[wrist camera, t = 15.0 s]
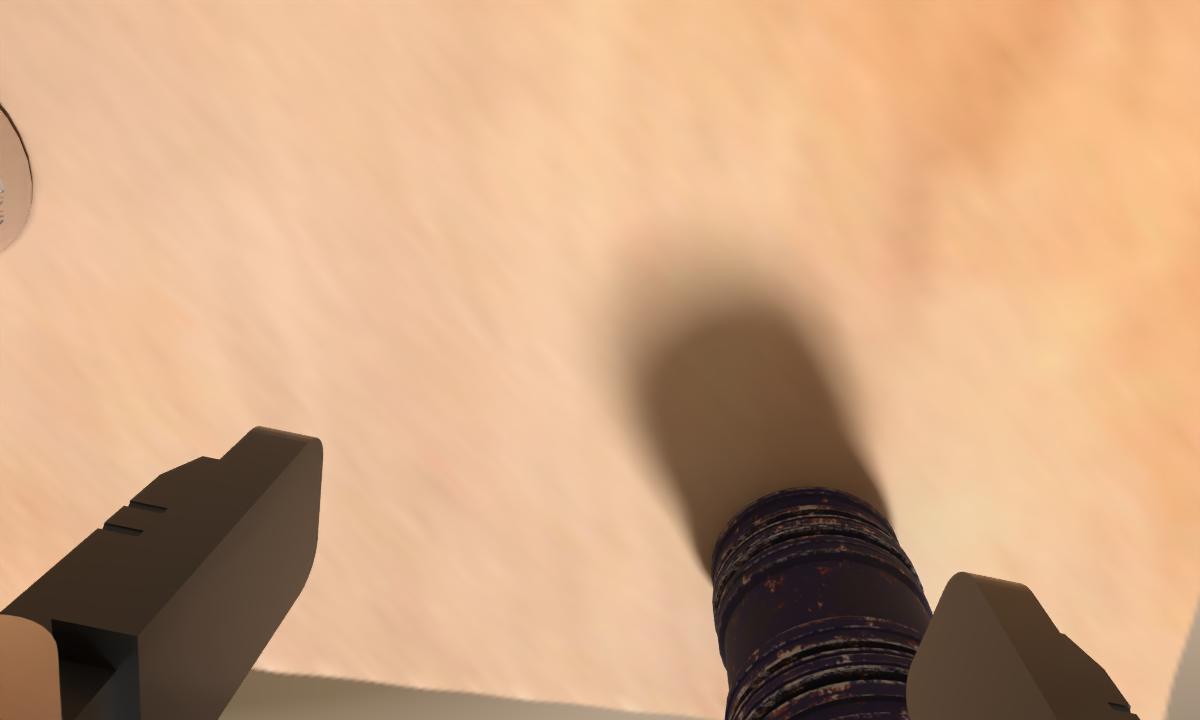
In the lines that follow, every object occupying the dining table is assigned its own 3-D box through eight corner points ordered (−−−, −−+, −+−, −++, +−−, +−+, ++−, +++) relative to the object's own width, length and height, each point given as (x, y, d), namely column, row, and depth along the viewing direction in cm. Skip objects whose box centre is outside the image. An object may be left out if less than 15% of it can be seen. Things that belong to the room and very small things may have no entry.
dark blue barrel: (674, 533, 40) (683, 787, 27) (853, 452, 38) (965, 685, 24) (762, 669, 43) (811, 961, 29) (933, 601, 41) (1075, 886, 27)
